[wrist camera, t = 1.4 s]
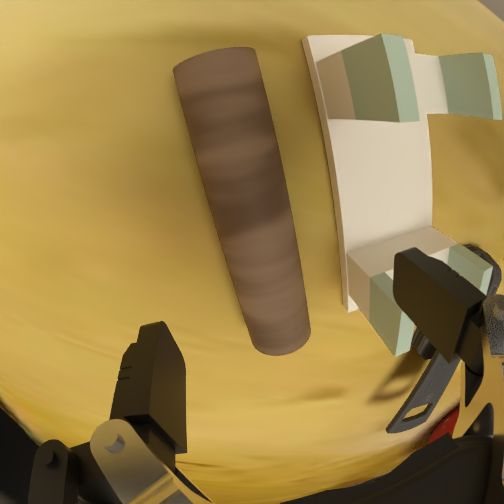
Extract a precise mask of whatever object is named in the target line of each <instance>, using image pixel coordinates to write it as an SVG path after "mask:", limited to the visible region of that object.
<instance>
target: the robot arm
mask: <svg viewBox="0 0 504 504" xmlns="http://www.w3.org/2000/svg"><path fill="white" fill-rule="evenodd" d="M393 296H394V299H395V302H396V303H397V305H398V306H399V307H400V308H401V310H402V311H403V312H404V313H405V314H406V315H407V316H408V317H409V318H410V319H411V321H412V322H413V323H414V324H415V325H416V326H417V327H418V328H419V330H420V331H421V332H422V333H423V334H424V335H425V336H426V338H427V339H428V340H429V341H430V342H431V343H432V345H433V346H434V347H435V348H436V349H437V350H438V352H439V353H440V354H441V355H442V356H443V358H444V359H445V360H446V361H447V362H448V364H450V363H452V362H453V361H455V360H456V359H458V358H461V359H462V360H463V362H462V364H461V391H460V411H459V417H458V420H457V423H456V425H455V428H454V432H453V436H452V437H451V435H450V434H449V432H447V433H446V434H444V435H443V436H441V437H439V438H438V439H436V440H435V441H433V442H431V443H430V444H428V445H426V446H425V447H423V448H421V449H419V450H417V451H416V452H414V453H413V454H412V455H410V456H409V457H408V458H407V459H406V460H405V461H403V462H402V463H401V464H400V465H399V466H397V467H396V468H395V469H394V470H392V471H391V472H390V473H388V474H387V475H386V476H385V477H383V478H382V479H381V480H379V481H377V482H375V483H372V484H367V485H360V486H355V487H348V488H341V489H333V490H326V491H323V492H319V493H316V494H313V495H309V496H306V497H302V498H298V499H295V500H291V501H286V502H282V503H280V504H504V295H500V294H495V295H491V296H489V297H487V296H486V295H485V294H484V293H483V292H481V291H480V290H479V289H478V288H477V287H475V286H474V285H473V284H472V283H470V282H469V281H468V280H466V279H465V278H464V277H463V276H460V275H459V273H457V272H456V271H455V270H452V268H451V267H450V266H448V265H447V264H446V263H444V262H443V261H441V260H438V259H436V258H433V257H430V256H427V255H426V254H425V253H423V252H422V251H421V250H419V249H418V248H416V247H412V248H409V249H407V250H404V251H401V252H398V253H396V254H395V256H394V271H393ZM181 453H187V434H186V367H185V362H184V359H183V356H182V353H181V351H180V350H179V348H178V346H177V344H176V342H175V340H174V339H173V337H172V335H171V333H170V331H169V329H168V327H167V325H166V324H165V322H163V321H160V322H155V323H151V324H147V325H143V326H141V327H140V330H139V334H138V339H137V343H132V344H130V346H129V347H128V349H127V350H126V352H125V353H124V355H123V357H122V362H121V366H120V371H119V375H118V381H117V384H116V388H115V393H114V398H113V403H112V408H111V414H110V419H109V420H108V421H106V422H104V423H102V424H101V425H100V426H98V427H97V429H96V430H95V431H94V433H93V435H92V437H91V440H90V442H87V443H84V444H81V445H78V446H75V447H72V448H68V447H67V446H66V445H64V444H63V443H62V442H60V441H59V440H54V439H53V440H48V441H46V442H44V443H43V444H42V445H41V446H40V447H39V449H38V450H37V452H36V455H35V458H34V464H33V469H32V475H31V481H30V489H29V497H28V504H77V500H78V498H79V499H81V500H82V502H81V504H216V503H215V502H214V501H213V500H211V499H210V498H209V497H208V496H207V495H206V494H205V493H204V492H203V491H202V490H200V489H199V488H198V487H197V486H196V485H195V484H194V483H193V482H192V481H191V480H190V479H189V478H188V477H187V476H186V475H185V474H184V473H183V472H182V471H181V470H180V469H179V468H178V467H177V466H176V465H175V454H181Z"/></svg>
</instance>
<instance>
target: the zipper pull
mask: <svg viewBox="0 0 504 504" xmlns="http://www.w3.org/2000/svg"><path fill="white" fill-rule="evenodd" d="M464 247H466V248H467V249H469V250H470V251H472V252H473V253H475V254H476V255H478V256H479V257H481V258H482V259H483V260H485V261H486V262H488V263H489V264H491V265H492V266H493V269H492V274H491V278H490V282H489V286H488V290H487V294H486V296H487V297H489V296H491V295H495V294H496V291H497V289H498V287H499V285H500V282H501V269H500V267H499V265H498V264H497V263H496V262H495V261H494V260H493V259H492V257H491V256H490V255H489V254H488V253H486V252H485V251H483V250H482V249H480V248H479V247H476V246H473V245H465V246H464ZM411 344H412V346H413V347H414V348H415V350H416V351H417V352H418V353H419V354H420V355H421V356H422V357H423V358H424V359H425V360H427V359H431V360H430V362H429V364H428V366H427V367H426V369H425V371H424V373H423V374H422V376H421V378H420V379H419V381H418V383H417V384H416V386H415V387H414V389H413V390H412V392H411V394H410V395H409V397H408V398H407V400H406V401H405V403H404V404H403V406H402V407H401V408H400V410H399V411H398V413H397V414H396V415H395V417H394V418H393V420H392V421H391V422H390V424H389V425H388V426H387V428H386V431H387V433H399V432H403V431H406V430H409V429H412V428H414V427H417V426H419V425H420V424H422V423H424V422H426V420H427V419H428V417H429V416H430V414H431V413H432V411H433V409H434V408H435V406H436V404H437V403H438V401H439V399H440V397H441V396H442V394H443V392H444V390H445V389H446V387H447V385H448V383H449V381H450V379H451V378H452V376H453V374H454V372H455V370H456V368H457V366H458V364H459V362H460V360H461V358H458V359H456V360H455V361H453V362H452V363H450V364H448V362H447V361H446V360H445V359H444V358H443V356H442V355H441V354H440V353H439V352H438V350H437V349H436V348H435V347H434V346H433V345H432V343H431V342H430V341H429V340H428V339H427V338H426V336H425V335H424V334H423V333H422V332H421V331H420V330H419V328H418V327H417V329H416V331H415V333H414V335H413V337H412V341H411ZM426 404H428V405H427V407H426V408H425V410H424V411H423V412H421V413H419V414H417V415H414V416H411V417H408V418H404V417H405V415H406V414H407V413H408V412H409V411H410V410H411V409H413V408H416V407H419V406H422V405H426ZM403 418H404V419H403Z"/></svg>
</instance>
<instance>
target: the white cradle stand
mask: <svg viewBox="0 0 504 504" xmlns="http://www.w3.org/2000/svg"><path fill="white" fill-rule="evenodd" d="M301 41H302V44H303V48H304V52H305V56H306V60H307V63H308V67H309V71H310V76H311V80H312V84H313V88H314V93H315V97H316V102H317V107H318V111H319V116H320V121H321V126H322V132H323V137H324V143H325V148H326V154H327V160H328V166H329V173H330V179H331V186H332V193H333V201H334V208H335V216H336V225H337V234H338V244H339V255H340V266H341V280H342V295H343V306H344V307H345V309H346V310H347V312H348V313H349V312H352V311H355V310H357V309H360V310H361V311H362V313H363V314H364V315H365V317H366V318H367V319H368V321H369V322H370V324H371V325H372V326H373V328H374V329H375V330H376V332H377V333H378V334H379V336H380V337H381V339H382V340H383V341H384V343H385V344H386V346H387V347H388V348H389V350H390V351H391V353H392V354H393V355H394V357H397V356H399V355H401V354H403V353H405V352H407V351H410V346H411V341H412V336H413V331H414V326H415V324H414V323H413V322H412V321H411V319H410V318H409V317H408V316H407V315H406V314H405V313H404V312H403V311H402V310H401V308H400V307H399V306H398V305H397V303H396V302H395V299H394V296H393V271H394V256H395V254H396V253H398V252H401V251H404V250H407V249H409V248H412V247H416V248H418V249H419V250H421V251H422V252H423V253H425V254H426V255H427V256H430V257H433V258H436V259H438V260H441V261H443V262H444V263H446V264H447V265H448V266H450V267H451V268H452V270H455V271H456V272H457V273H459V275H460V276H463V277H464V278H465V279H466V280H468V281H469V282H470V283H472V284H473V285H474V286H475V287H477V288H478V289H479V290H480V291H481V292H483V293H484V294H485V295H486V294H487V290H488V286H489V282H490V278H491V274H492V269H493V266H492V265H491V264H489V263H488V262H486V261H485V260H483V259H482V258H481V257H479V256H478V255H476V254H475V253H473V252H472V251H470V250H469V249H467V248H466V247H464V246H462V245H461V244H459V243H458V242H456V241H455V240H453V239H451V238H450V237H448V236H447V235H445V234H443V233H442V232H440V231H438V230H437V229H435V228H433V227H432V166H431V150H430V138H429V128H428V120H427V114H446V113H449V114H458V115H466V116H474V117H481V118H487V119H493V120H503V117H502V107H501V99H500V92H499V85H498V79H497V73H496V68H495V63H494V59H493V56H492V55H489V54H486V53H468V54H456V55H447V56H432V55H424V54H416V53H415V50H414V46H413V42H412V40H411V39H404V38H403V36H399V35H390V34H379V35H377V36H368V35H313V36H306V37H305V38H304V39H302V40H301Z"/></svg>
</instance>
